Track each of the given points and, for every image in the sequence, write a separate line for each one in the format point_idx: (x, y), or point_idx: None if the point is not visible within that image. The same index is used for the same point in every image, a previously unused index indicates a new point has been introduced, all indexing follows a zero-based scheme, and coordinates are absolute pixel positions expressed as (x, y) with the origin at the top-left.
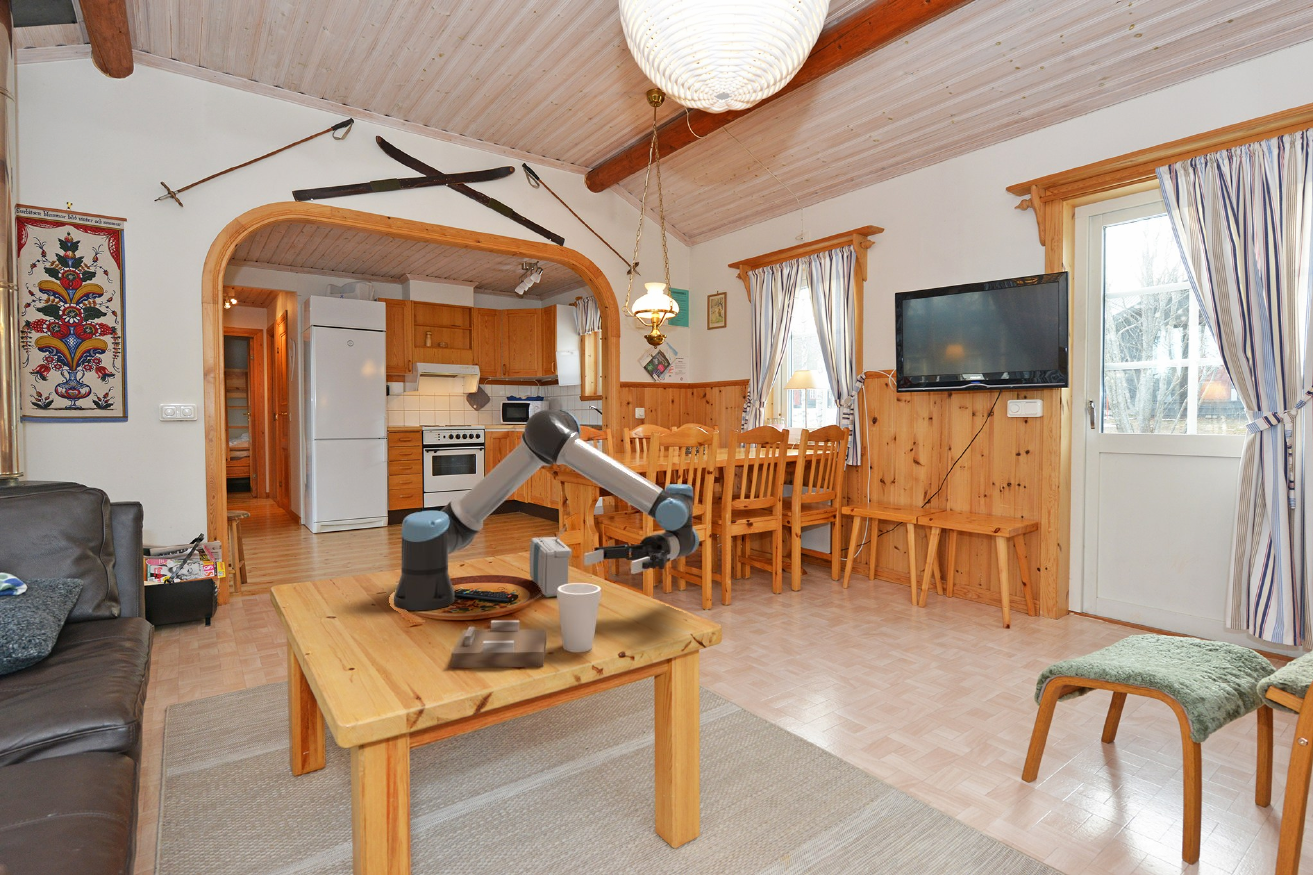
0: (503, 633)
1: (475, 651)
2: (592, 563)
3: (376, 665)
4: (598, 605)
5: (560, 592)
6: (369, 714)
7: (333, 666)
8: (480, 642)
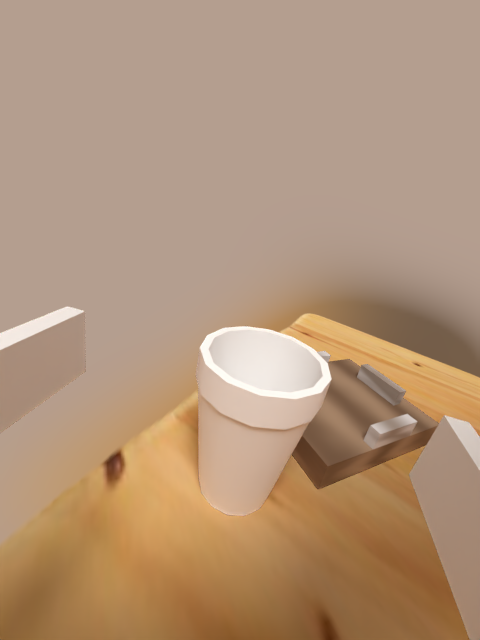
0: (371, 422)
1: (332, 365)
2: (435, 539)
3: (411, 371)
4: (201, 404)
5: (289, 338)
6: (310, 319)
7: (435, 366)
8: (358, 386)
